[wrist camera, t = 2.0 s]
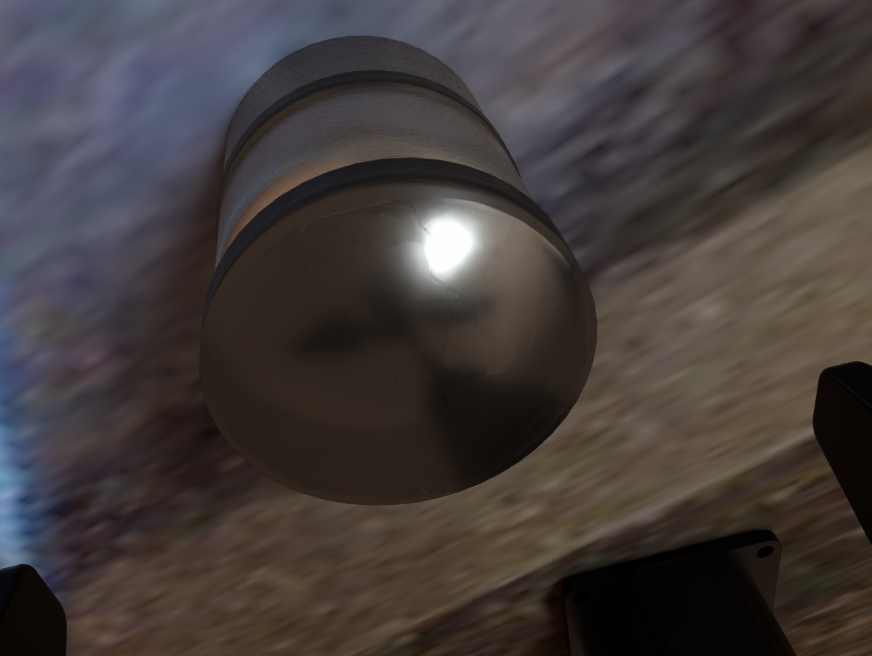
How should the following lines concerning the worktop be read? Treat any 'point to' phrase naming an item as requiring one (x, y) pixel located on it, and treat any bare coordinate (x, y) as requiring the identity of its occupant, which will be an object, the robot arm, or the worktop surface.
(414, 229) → the lens
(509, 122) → the worktop surface
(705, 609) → the robot arm
